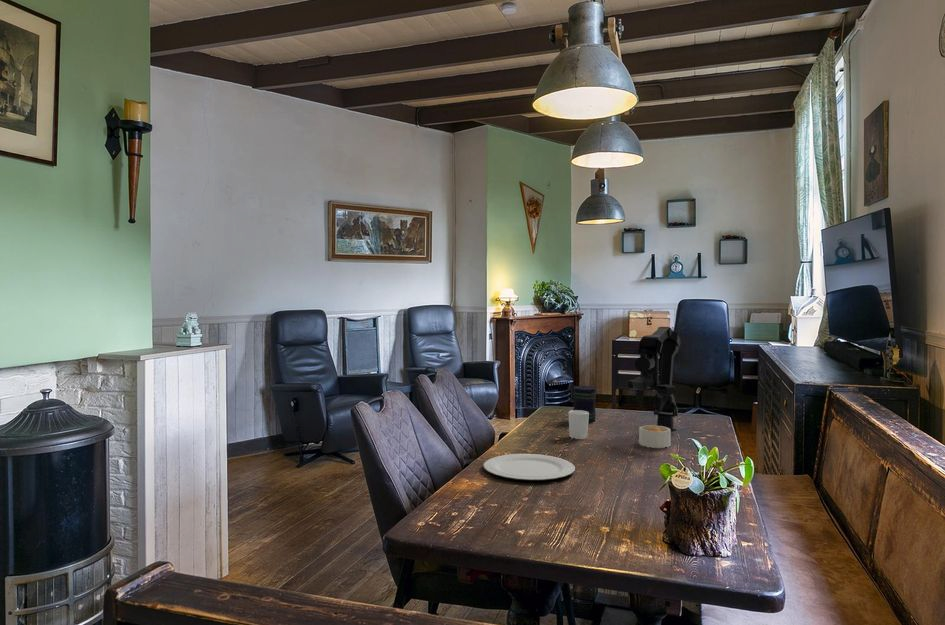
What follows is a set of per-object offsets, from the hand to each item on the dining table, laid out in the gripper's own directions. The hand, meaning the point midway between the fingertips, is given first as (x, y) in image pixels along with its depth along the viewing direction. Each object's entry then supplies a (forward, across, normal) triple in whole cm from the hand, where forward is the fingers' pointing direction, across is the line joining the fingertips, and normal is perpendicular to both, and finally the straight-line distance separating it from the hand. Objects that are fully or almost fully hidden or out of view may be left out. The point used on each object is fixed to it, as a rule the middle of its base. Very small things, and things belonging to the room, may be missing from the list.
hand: (650, 408), depth 241 cm
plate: (+11, +5, -66) cm, 67 cm away
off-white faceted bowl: (+12, +6, -5) cm, 14 cm away
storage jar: (+13, -39, +4) cm, 41 cm away
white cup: (+12, -18, -21) cm, 30 cm away
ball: (+8, +6, -5) cm, 11 cm away
